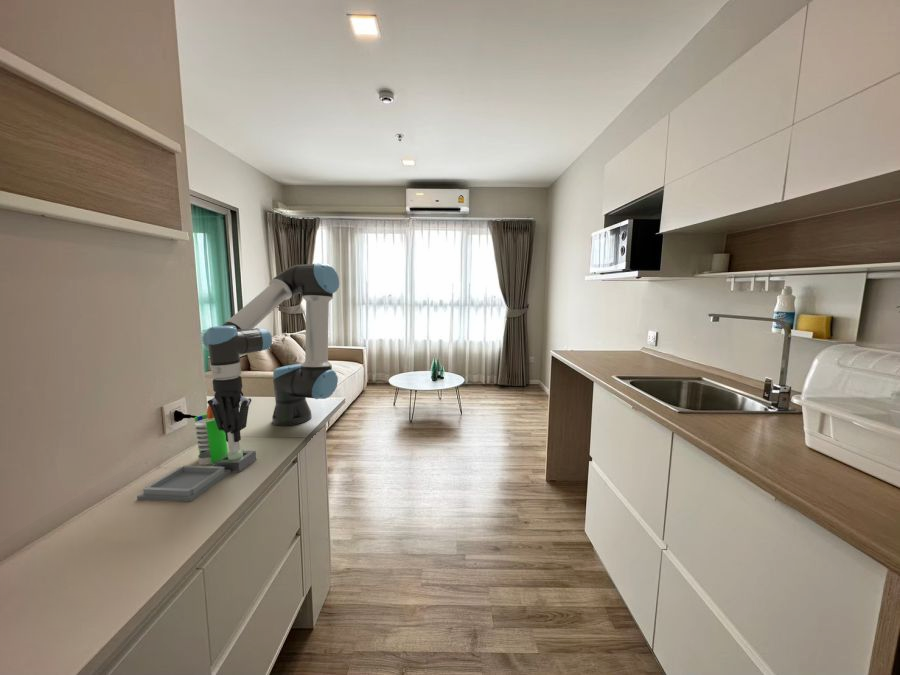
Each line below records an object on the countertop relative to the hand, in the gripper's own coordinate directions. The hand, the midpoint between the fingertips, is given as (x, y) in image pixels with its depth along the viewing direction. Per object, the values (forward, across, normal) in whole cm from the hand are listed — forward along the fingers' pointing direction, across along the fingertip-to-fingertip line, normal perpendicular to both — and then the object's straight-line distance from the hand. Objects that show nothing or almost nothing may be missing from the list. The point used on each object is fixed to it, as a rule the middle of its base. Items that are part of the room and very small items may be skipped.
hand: (234, 451), depth 112 cm
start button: (+4, 0, 0) cm, 4 cm away
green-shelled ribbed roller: (+5, -11, +4) cm, 13 cm away
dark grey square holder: (+5, 0, 0) cm, 5 cm away
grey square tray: (+5, -6, -12) cm, 14 cm away
